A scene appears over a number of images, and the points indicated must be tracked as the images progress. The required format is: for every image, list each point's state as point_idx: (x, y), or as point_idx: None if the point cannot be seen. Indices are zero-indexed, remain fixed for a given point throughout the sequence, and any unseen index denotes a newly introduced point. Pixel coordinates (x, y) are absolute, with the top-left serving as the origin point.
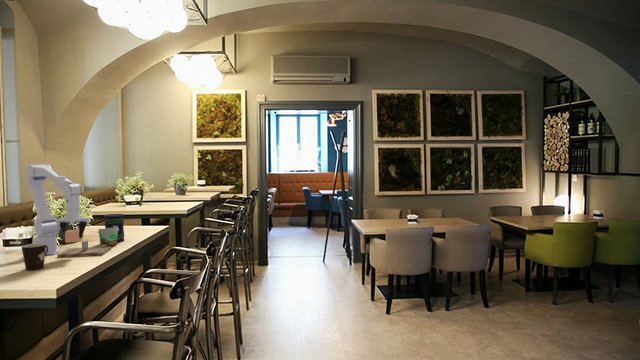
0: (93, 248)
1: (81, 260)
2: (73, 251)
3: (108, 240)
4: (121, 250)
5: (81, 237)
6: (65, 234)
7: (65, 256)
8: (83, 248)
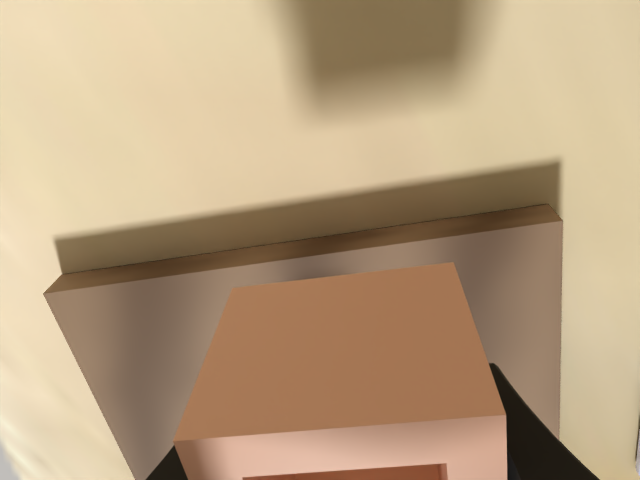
0: None
1: (137, 22)
2: None
3: None
4: (37, 454)
5: None
6: (477, 365)
7: (454, 221)
8: None
